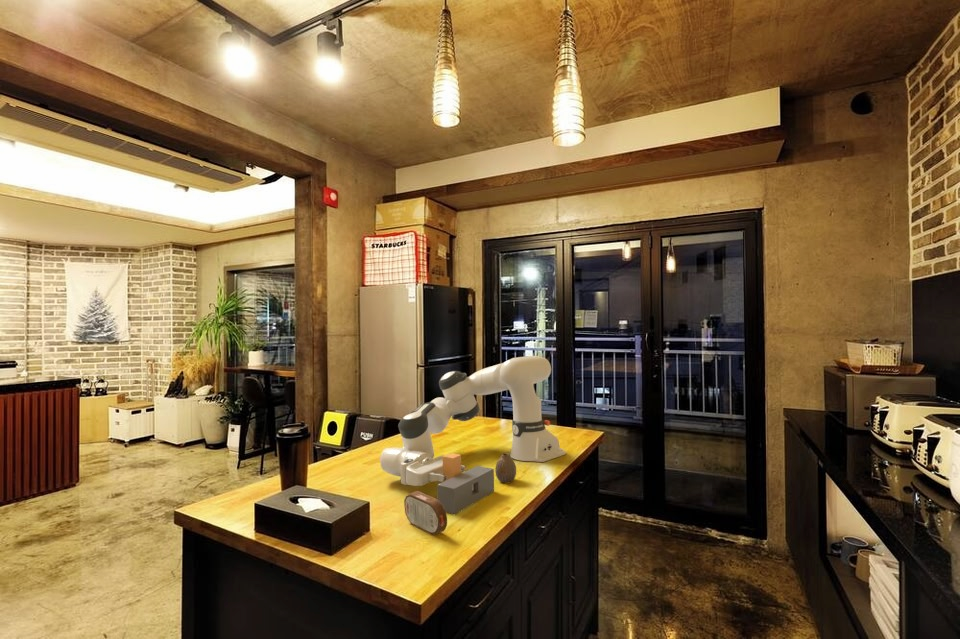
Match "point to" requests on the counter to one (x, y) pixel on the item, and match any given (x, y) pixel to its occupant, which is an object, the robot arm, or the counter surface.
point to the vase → (505, 469)
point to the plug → (452, 466)
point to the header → (465, 489)
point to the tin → (425, 512)
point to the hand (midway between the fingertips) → (454, 473)
